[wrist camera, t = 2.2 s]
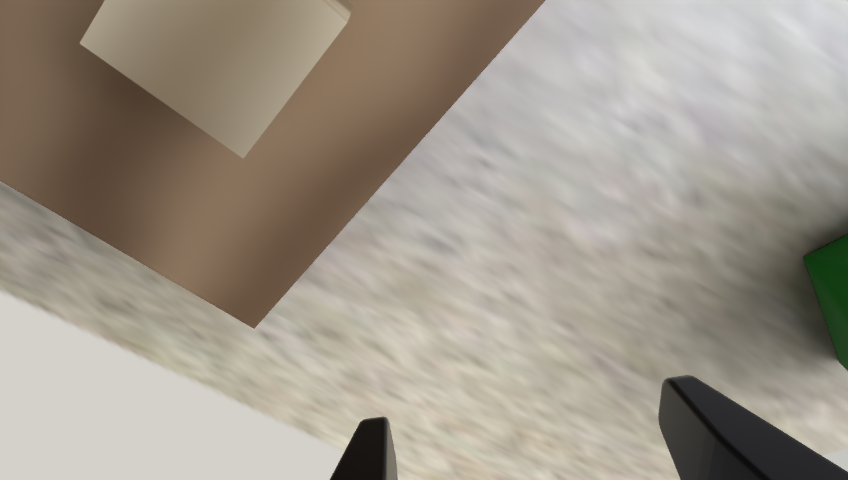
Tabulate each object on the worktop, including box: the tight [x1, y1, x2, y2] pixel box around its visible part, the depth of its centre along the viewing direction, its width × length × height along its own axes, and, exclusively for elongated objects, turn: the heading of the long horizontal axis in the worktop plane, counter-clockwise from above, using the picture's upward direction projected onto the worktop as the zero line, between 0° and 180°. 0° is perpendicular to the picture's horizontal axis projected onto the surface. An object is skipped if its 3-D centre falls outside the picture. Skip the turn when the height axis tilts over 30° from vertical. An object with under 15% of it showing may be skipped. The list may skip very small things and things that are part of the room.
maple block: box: [80, 0, 354, 159], centre depth 14 cm, size 4×4×4 cm
